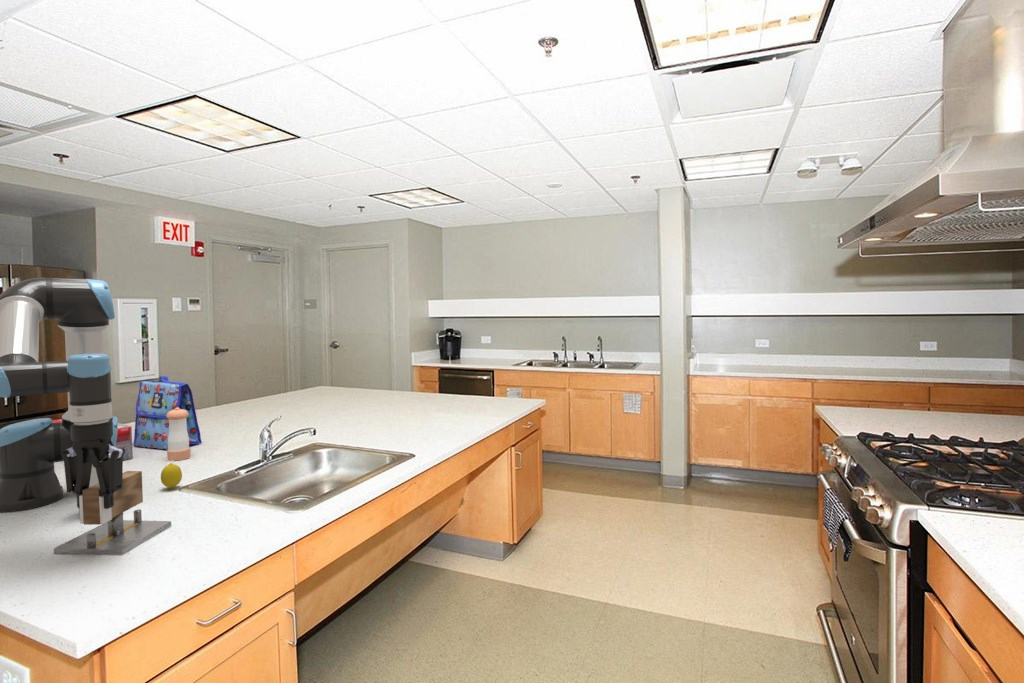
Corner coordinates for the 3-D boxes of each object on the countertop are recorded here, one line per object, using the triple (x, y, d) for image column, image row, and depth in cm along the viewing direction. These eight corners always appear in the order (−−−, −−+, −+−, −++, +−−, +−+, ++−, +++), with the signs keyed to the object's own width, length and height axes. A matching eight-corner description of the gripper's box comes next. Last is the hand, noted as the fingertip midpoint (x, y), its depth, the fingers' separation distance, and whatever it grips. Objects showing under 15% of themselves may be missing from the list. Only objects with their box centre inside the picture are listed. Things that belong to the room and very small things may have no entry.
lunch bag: (132, 447, 208) (129, 376, 206) (163, 439, 221) (161, 372, 219) (173, 451, 202) (170, 378, 200) (203, 443, 215) (201, 374, 213)
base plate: (53, 553, 117) (52, 526, 117) (110, 524, 133) (109, 501, 133) (122, 555, 117) (121, 528, 116) (171, 525, 133) (170, 502, 132)
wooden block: (128, 501, 131) (127, 471, 131) (142, 501, 132) (141, 471, 131) (84, 524, 118) (82, 490, 117) (99, 524, 118) (98, 490, 117)
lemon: (158, 492, 157) (157, 466, 156) (165, 486, 162) (164, 461, 162) (178, 490, 158) (177, 465, 158) (185, 484, 164) (184, 460, 163)
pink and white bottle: (195, 455, 196) (193, 406, 195) (180, 461, 189) (179, 409, 188) (177, 455, 197) (175, 405, 196) (162, 460, 190) (160, 409, 188)
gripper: (40, 424, 114) (45, 527, 116) (114, 425, 114) (118, 529, 115) (70, 417, 122) (75, 514, 123) (140, 418, 121) (143, 515, 123)
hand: (96, 521), depth 119 cm, fingers open, 4 cm apart
